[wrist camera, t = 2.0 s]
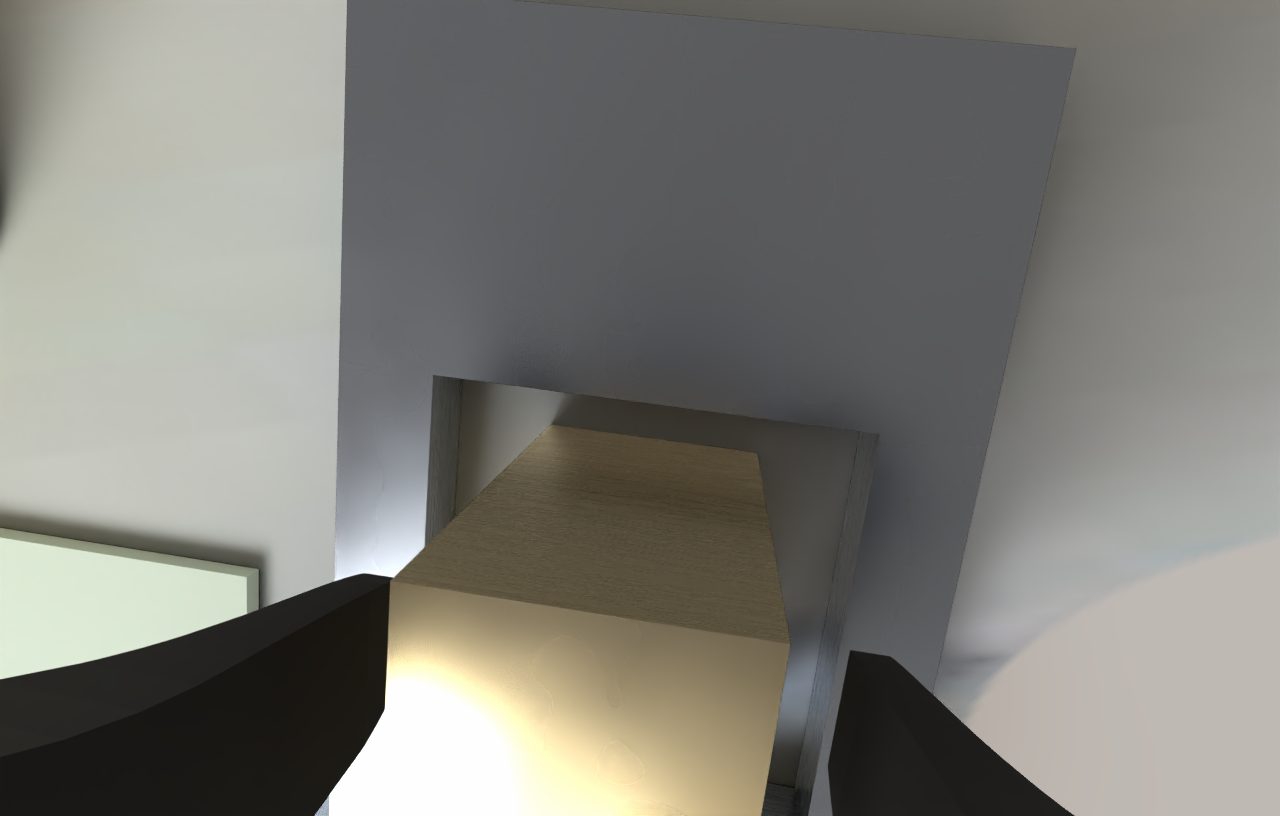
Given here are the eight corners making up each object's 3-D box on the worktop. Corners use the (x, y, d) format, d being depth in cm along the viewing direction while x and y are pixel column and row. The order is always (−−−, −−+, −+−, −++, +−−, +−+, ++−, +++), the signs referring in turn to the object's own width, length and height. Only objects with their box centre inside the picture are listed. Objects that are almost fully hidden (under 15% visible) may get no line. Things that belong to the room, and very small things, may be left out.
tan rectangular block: (714, 728, 15) (708, 1119, 8) (527, 696, 15) (372, 1047, 9) (756, 452, 14) (790, 644, 7) (551, 423, 14) (391, 580, 7)
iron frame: (828, 1031, 16) (839, 1108, 15) (359, 936, 17) (324, 999, 16) (1032, 74, 12) (1076, 48, 10) (390, 16, 13) (347, -15, 11)
